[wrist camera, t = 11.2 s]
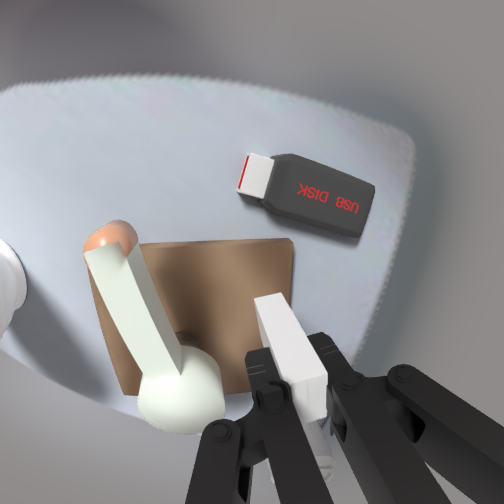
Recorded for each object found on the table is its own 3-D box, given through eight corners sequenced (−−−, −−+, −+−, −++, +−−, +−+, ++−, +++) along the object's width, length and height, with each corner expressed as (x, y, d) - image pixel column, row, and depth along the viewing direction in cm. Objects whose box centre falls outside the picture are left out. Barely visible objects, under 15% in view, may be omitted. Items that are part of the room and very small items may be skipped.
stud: (170, 356, 25) (167, 385, 21) (165, 331, 24) (161, 359, 20) (200, 355, 26) (201, 384, 22) (197, 330, 25) (198, 358, 21)
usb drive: (350, 234, 27) (365, 242, 24) (233, 201, 24) (236, 206, 21) (366, 184, 25) (382, 187, 23) (249, 142, 22) (255, 140, 20)
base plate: (126, 386, 27) (123, 395, 26) (90, 246, 22) (84, 251, 21) (278, 379, 30) (281, 387, 29) (288, 238, 25) (293, 242, 24)
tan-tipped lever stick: (230, 391, 22) (235, 425, 18) (163, 404, 22) (160, 438, 18) (159, 204, 16) (147, 216, 13) (75, 233, 16) (48, 252, 12)
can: (275, 432, 34) (297, 499, 23) (242, 413, 32) (259, 491, 20) (318, 406, 34) (350, 472, 22) (289, 384, 31) (322, 462, 20)
